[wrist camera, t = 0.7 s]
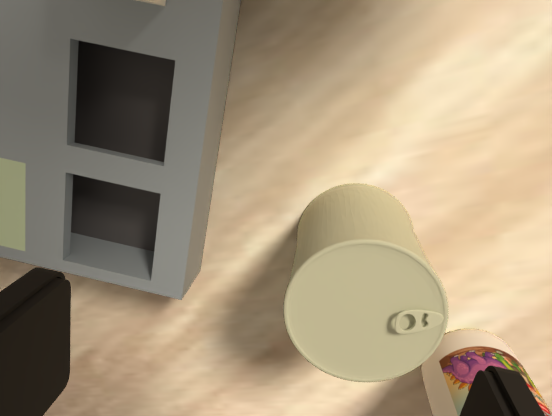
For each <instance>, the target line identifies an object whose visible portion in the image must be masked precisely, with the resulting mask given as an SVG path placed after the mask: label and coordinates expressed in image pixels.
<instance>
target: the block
mask: <svg viewBox="0 0 552 416" xmlns="http://www.w3.org/2000/svg"><path fill="white" fill-rule="evenodd" d="M136 1H141V2H146V3H151V4H156V5H161V6H165V4H166V0H136Z"/></svg>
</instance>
